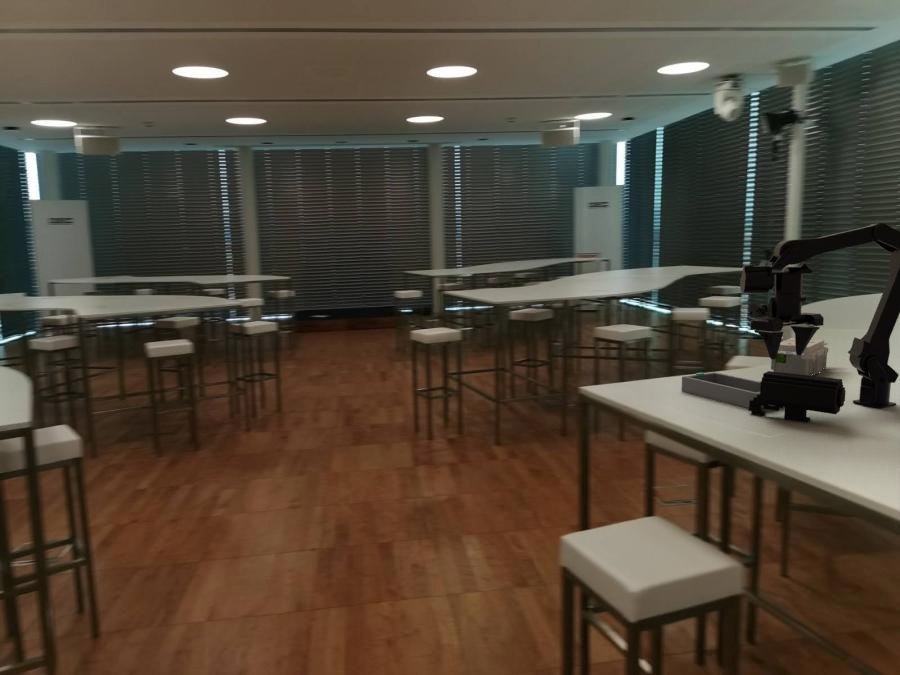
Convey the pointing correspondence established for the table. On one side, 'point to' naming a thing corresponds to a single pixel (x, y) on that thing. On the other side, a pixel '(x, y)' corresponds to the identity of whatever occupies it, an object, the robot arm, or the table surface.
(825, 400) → the black stepped block
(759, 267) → the robot arm
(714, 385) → the gray open-top storage bin
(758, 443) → the table surface
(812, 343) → the white box
